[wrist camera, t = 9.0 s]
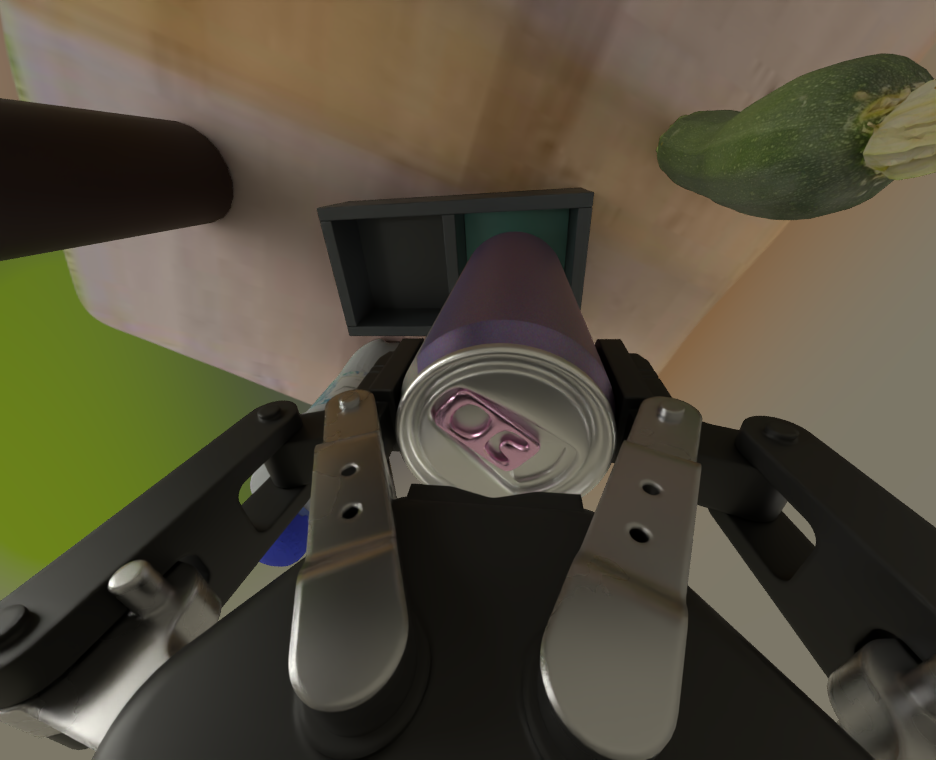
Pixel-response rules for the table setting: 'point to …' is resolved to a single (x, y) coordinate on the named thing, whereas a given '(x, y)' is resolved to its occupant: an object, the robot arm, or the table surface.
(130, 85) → the table surface
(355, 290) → the divided tray
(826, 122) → the vegetable
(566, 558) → the robot arm
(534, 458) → the beverage can
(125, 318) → the table surface
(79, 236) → the vinegar
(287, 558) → the bottle
